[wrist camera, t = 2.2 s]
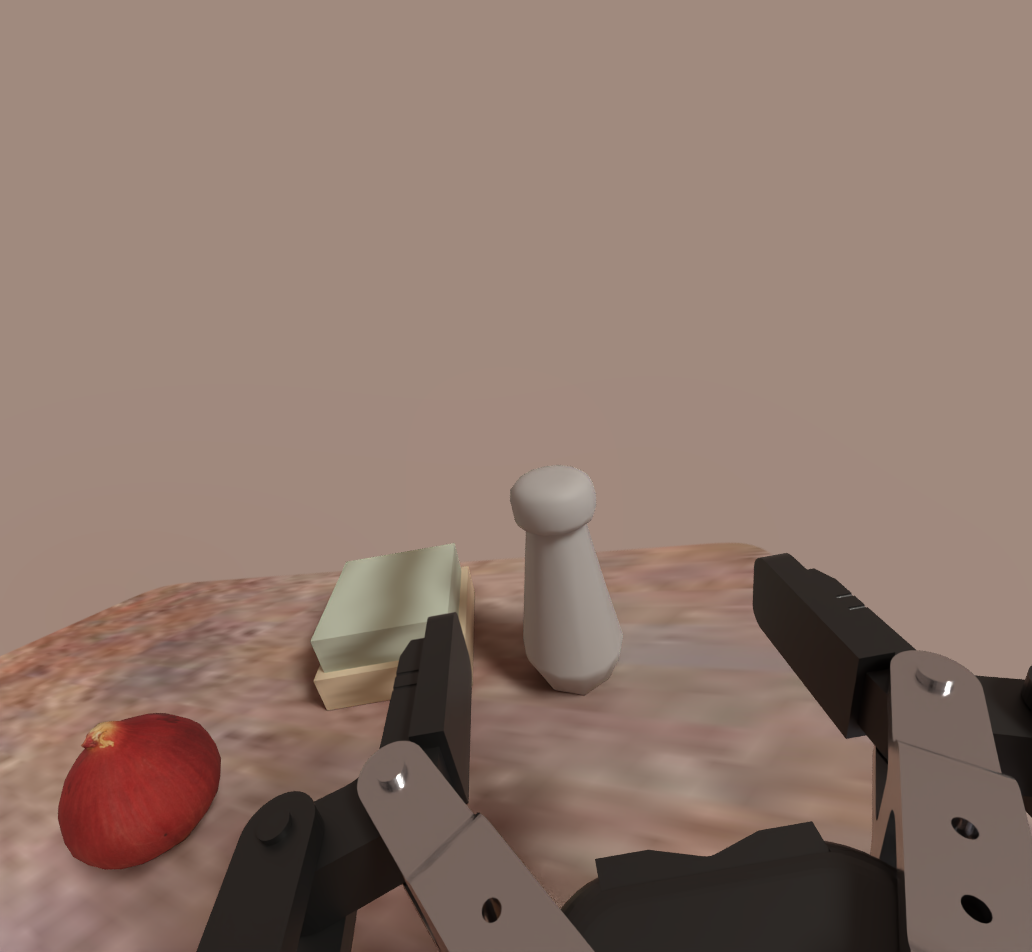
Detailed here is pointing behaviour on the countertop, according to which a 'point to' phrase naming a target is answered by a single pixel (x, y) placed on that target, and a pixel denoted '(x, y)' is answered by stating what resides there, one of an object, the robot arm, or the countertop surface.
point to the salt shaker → (564, 581)
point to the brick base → (386, 620)
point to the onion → (137, 789)
